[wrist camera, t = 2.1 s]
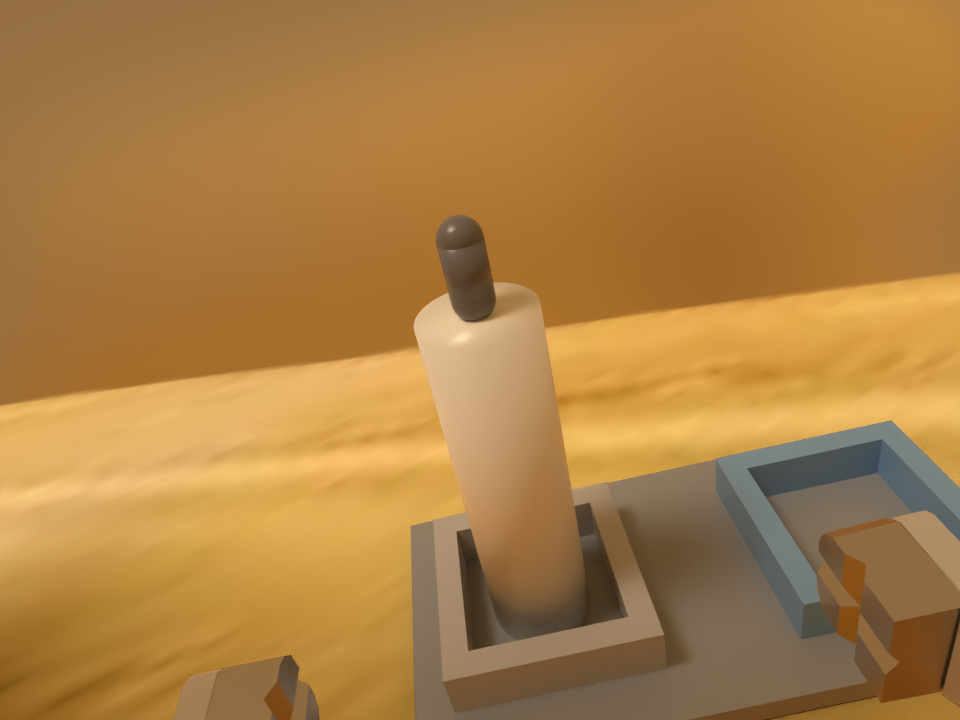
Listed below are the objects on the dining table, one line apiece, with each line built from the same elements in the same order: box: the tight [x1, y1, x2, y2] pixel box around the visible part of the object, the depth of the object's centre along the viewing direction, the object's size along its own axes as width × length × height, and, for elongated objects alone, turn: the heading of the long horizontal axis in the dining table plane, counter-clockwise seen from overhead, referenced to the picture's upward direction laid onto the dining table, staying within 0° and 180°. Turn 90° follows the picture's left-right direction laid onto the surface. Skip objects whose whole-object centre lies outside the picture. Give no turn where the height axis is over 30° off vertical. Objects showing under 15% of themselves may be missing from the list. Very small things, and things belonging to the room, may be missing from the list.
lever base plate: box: [411, 421, 960, 720], centre depth 29 cm, size 24×12×3 cm, turn 96°
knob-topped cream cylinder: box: [414, 215, 590, 640], centre depth 24 cm, size 4×4×17 cm
